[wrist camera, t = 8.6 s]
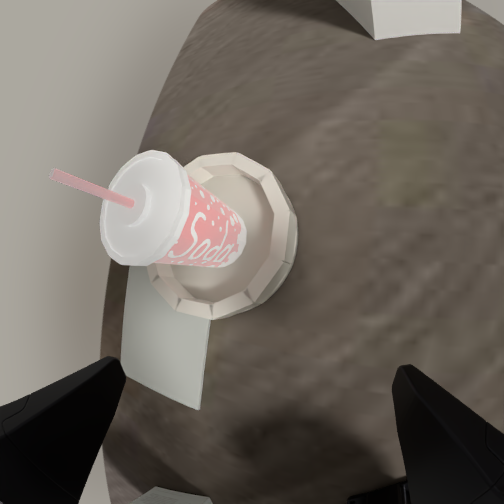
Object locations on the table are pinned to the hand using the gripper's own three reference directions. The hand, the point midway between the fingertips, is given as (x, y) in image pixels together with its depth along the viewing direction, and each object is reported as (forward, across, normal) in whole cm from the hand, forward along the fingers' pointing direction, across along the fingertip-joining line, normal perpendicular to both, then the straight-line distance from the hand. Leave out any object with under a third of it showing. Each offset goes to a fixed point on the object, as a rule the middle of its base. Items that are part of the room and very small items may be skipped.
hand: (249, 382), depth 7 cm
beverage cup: (+14, +4, 0) cm, 15 cm away
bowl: (+15, +4, 0) cm, 16 cm away
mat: (+13, +10, +8) cm, 18 cm away
